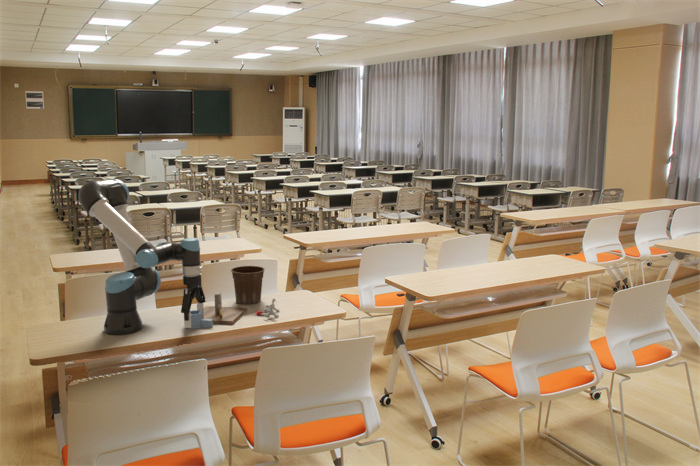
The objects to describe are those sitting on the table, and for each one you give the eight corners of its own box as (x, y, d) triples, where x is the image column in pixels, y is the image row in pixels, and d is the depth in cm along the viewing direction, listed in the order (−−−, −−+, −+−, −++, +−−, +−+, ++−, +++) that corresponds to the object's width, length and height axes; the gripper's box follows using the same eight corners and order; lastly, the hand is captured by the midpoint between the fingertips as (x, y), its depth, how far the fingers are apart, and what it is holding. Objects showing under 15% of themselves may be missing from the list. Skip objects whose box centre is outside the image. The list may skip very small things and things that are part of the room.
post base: (188, 322, 259) (187, 299, 257) (205, 309, 279) (204, 287, 277) (232, 324, 256) (231, 301, 255) (246, 310, 276) (246, 289, 274)
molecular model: (258, 328, 264) (279, 320, 264) (252, 313, 262) (273, 305, 262) (260, 315, 278) (280, 308, 278) (254, 301, 276) (274, 294, 276)
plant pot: (266, 296, 301) (265, 265, 298) (264, 305, 285) (263, 272, 282) (234, 296, 299) (233, 265, 297) (230, 306, 284) (228, 273, 281)
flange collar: (182, 328, 252) (182, 314, 251) (189, 322, 258) (188, 309, 257) (209, 329, 250) (208, 315, 249) (215, 324, 257) (214, 310, 256)
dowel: (219, 317, 261) (219, 310, 260) (220, 316, 262) (220, 309, 261) (222, 317, 261) (221, 310, 260) (222, 317, 262) (222, 309, 261)
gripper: (188, 282, 238) (191, 332, 241) (211, 268, 263) (213, 313, 266) (170, 281, 239) (173, 331, 242) (195, 268, 264) (197, 313, 267)
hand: (194, 323), depth 254 cm, fingers open, 14 cm apart
